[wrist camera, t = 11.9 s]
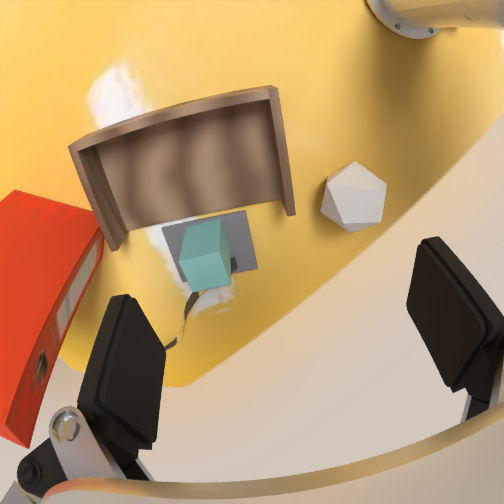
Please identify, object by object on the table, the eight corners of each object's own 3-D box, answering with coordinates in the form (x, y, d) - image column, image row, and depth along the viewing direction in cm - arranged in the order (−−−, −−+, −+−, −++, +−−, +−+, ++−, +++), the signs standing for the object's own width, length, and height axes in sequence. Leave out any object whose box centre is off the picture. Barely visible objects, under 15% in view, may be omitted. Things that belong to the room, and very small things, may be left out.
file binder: (102, 257, 44) (28, 450, 18) (17, 231, 40) (-83, 382, 13) (106, 214, 40) (3, 423, 14) (15, 189, 35) (-113, 340, 9)
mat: (245, 210, 41) (245, 211, 41) (257, 267, 47) (257, 268, 47) (162, 227, 42) (161, 228, 41) (182, 280, 48) (182, 282, 47)
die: (308, 211, 43) (356, 256, 38) (301, 174, 35) (361, 226, 31) (347, 178, 43) (395, 219, 39) (347, 139, 36) (406, 183, 31)
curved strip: (259, 269, 48) (262, 285, 45) (137, 367, 62) (135, 381, 59) (231, 248, 45) (232, 264, 42) (114, 356, 59) (111, 370, 56)
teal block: (220, 218, 41) (219, 252, 35) (230, 247, 44) (230, 284, 38) (186, 227, 42) (178, 261, 35) (197, 255, 44) (193, 292, 38)
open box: (270, 85, 32) (277, 88, 27) (287, 195, 40) (295, 214, 36) (87, 134, 33) (67, 146, 28) (123, 229, 42) (111, 251, 37)
